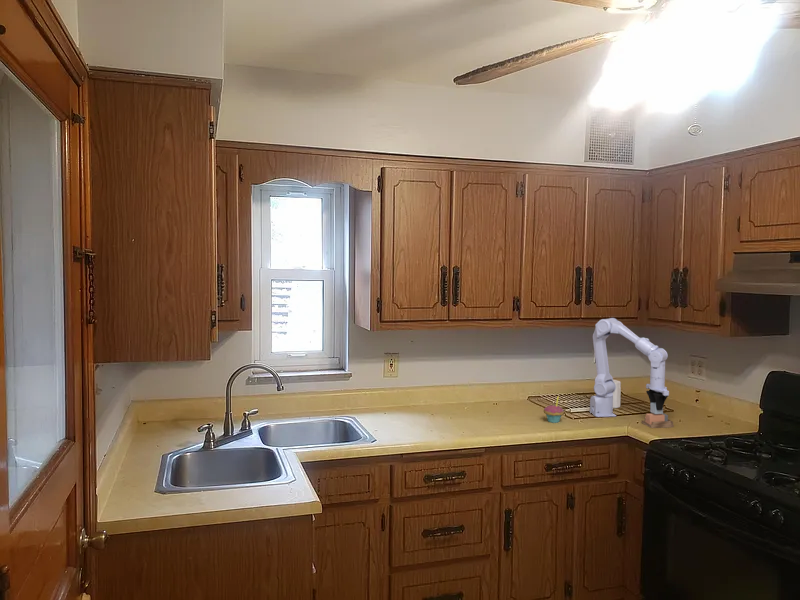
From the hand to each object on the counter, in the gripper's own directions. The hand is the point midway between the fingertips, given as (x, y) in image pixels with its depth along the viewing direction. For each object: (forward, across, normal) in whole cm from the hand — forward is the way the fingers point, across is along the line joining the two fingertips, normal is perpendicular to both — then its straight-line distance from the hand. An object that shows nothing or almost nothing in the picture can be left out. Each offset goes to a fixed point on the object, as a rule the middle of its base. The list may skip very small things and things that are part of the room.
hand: (656, 408), depth 251 cm
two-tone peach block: (+6, 0, 0) cm, 6 cm away
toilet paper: (+7, +34, +4) cm, 36 cm away
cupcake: (+7, +10, +42) cm, 43 cm away
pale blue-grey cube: (+2, 0, 0) cm, 2 cm away
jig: (+7, 0, 0) cm, 7 cm away
